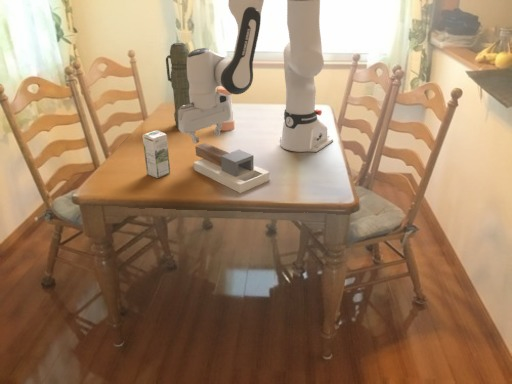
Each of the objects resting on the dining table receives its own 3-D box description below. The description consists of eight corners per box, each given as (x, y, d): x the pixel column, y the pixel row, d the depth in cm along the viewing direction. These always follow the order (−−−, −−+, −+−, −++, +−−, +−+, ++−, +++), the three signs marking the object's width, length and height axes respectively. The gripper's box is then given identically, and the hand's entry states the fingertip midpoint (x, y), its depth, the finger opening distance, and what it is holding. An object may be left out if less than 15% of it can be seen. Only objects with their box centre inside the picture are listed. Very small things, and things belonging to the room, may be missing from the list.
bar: (205, 151, 155) (205, 142, 153) (232, 163, 145) (232, 154, 143) (196, 155, 152) (195, 146, 150) (222, 167, 142) (222, 158, 141)
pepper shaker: (233, 130, 184) (232, 86, 175) (217, 130, 184) (214, 86, 175) (235, 125, 190) (233, 82, 181) (218, 125, 190) (216, 82, 181)
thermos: (197, 129, 186) (191, 45, 170) (170, 129, 186) (162, 45, 169) (200, 122, 194) (194, 42, 177) (174, 122, 194) (166, 42, 177)
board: (223, 159, 156) (222, 138, 152) (269, 180, 140) (269, 157, 137) (194, 170, 148) (192, 148, 144) (240, 193, 133) (239, 169, 129)
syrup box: (160, 168, 149) (155, 129, 142) (171, 173, 146) (166, 133, 139) (146, 174, 145) (141, 134, 138) (158, 179, 142) (152, 138, 135)
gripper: (183, 108, 134) (187, 149, 140) (232, 95, 146) (234, 133, 153) (171, 105, 138) (177, 144, 144) (220, 92, 150) (222, 129, 157)
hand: (206, 138), depth 149 cm, fingers open, 8 cm apart
